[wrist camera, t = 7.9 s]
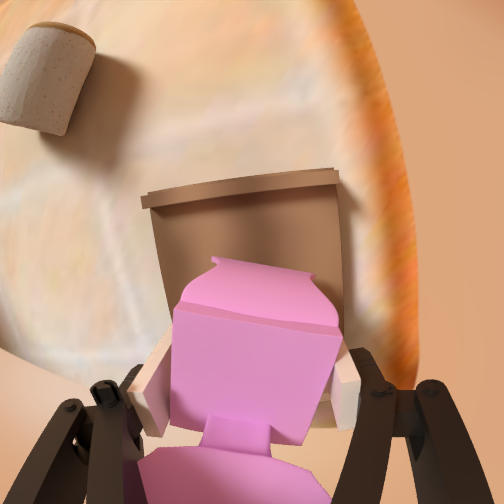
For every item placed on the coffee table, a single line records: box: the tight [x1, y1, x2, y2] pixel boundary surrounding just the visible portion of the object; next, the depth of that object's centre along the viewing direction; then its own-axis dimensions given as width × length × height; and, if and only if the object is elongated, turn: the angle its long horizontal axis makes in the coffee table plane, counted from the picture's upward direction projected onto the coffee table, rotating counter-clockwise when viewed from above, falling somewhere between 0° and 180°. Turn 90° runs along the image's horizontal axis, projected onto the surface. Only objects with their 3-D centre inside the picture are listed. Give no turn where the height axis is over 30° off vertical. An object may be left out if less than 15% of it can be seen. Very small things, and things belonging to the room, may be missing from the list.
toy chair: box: [137, 256, 343, 504], centre depth 11 cm, size 8×9×15 cm
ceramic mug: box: [0, 22, 96, 136], centre depth 15 cm, size 11×8×8 cm
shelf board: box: [141, 168, 344, 402], centre depth 20 cm, size 12×16×4 cm
